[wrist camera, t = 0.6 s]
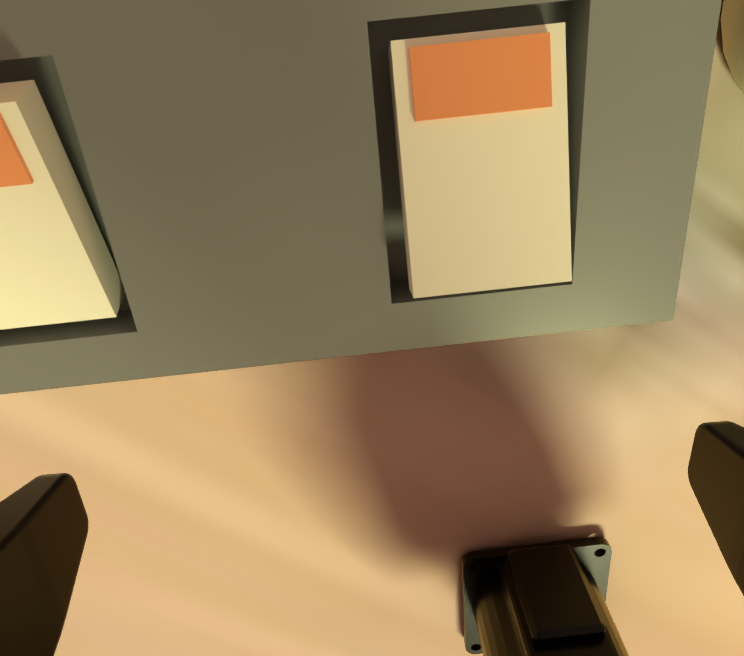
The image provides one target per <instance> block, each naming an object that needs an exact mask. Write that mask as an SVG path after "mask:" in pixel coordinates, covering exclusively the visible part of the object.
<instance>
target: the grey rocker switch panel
mask: <svg viewBox="0 0 744 656" xmlns="http://www.w3.org/2000/svg"><path fill="white" fill-rule="evenodd" d="M721 3H722V0H0V83H8V82H17V81H27V80H34V81H35V83H36V86H37V88H38V90H39V93H40V95H41V97H42V99H43V102H44V104H45V106H46V109H47V111H48V113H49V115H50V118H51V120H52V122H53V125H54V127H55V129H56V131H57V134H58V136H59V138H60V141H61V143H62V145H63V147H64V150H65V152H66V154H67V157H68V159H69V161H70V163H71V166H72V168H73V170H74V173H75V175H76V177H77V179H78V182H79V184H80V186H81V189H82V191H83V193H84V195H85V198H86V200H87V202H88V205H89V207H90V209H91V211H92V214H93V216H94V218H95V221H96V223H97V225H98V227H99V230H100V232H101V234H102V237H103V239H104V241H105V243H106V246H107V248H108V250H109V253H110V255H111V257H112V259H113V262H114V264H115V266H116V269H117V271H118V273H119V275H120V278H121V280H122V283H123V286H124V289H125V293H124V296H123V299H122V302H121V305H120V308H119V311H118V314H117V317H112V318H103V319H94V320H85V321H76V322H66V323H57V324H48V325H39V326H30V327H21V328H11V329H2V330H0V394H8V393H17V392H26V391H35V390H45V389H54V388H63V387H72V386H81V385H90V384H99V383H108V382H117V381H126V380H135V379H145V378H154V377H163V376H172V375H181V374H190V373H199V372H208V371H217V370H226V369H236V368H245V367H254V366H263V365H272V364H281V363H290V362H299V361H308V360H317V359H327V358H336V357H345V356H354V355H363V354H372V353H381V352H390V351H399V350H408V349H418V348H427V347H436V346H445V345H454V344H463V343H472V342H481V341H490V340H499V339H509V338H518V337H527V336H536V335H545V334H554V333H563V332H572V331H581V330H590V329H600V328H609V327H618V326H627V325H636V324H645V323H654V322H663V321H672V320H673V317H674V311H675V304H676V298H677V291H678V284H679V278H680V271H681V265H682V258H683V252H684V245H685V239H686V232H687V225H688V219H689V212H690V206H691V199H692V193H693V186H694V180H695V173H696V166H697V160H698V153H699V147H700V140H701V134H702V127H703V121H704V114H705V107H706V101H707V94H708V88H709V81H710V75H711V68H712V62H713V55H714V48H715V42H716V35H717V29H718V22H719V16H720V9H721ZM562 22H565V33H566V71H567V110H568V149H569V187H570V226H571V265H572V281H568V282H559V283H550V284H541V285H532V286H522V287H513V288H504V289H495V290H486V291H477V292H468V293H458V294H449V295H440V296H431V297H422V298H413V296H412V294H411V292H410V290H409V281H408V270H407V259H406V248H405V237H404V226H403V215H402V204H401V193H400V182H399V171H398V160H397V149H396V138H395V127H394V116H393V105H392V94H391V83H390V72H389V61H388V47H389V44H390V41H393V40H403V39H412V38H421V37H431V36H440V35H450V34H459V33H468V32H478V31H487V30H497V29H506V28H515V27H525V26H534V25H544V24H553V23H562Z"/></svg>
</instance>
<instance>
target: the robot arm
mask: <svg viewBox="0 0 744 656" xmlns="http://www.w3.org/2000/svg"><path fill="white" fill-rule="evenodd" d="M688 477H689V481H690V485H691V487H692V489H693V491H694V494H695V496H696V498H697V500H698V502H699V504H700V507H701V509H702V511H703V513H704V515H705V518H706V520H707V522H708V524H709V526H710V528H711V531H712V533H713V535H714V537H715V539H716V541H717V544H718V546H719V548H720V550H721V552H722V555H723V557H724V559H725V561H726V563H727V565H728V567H729V569H730V571H731V573H732V575H733V577H734V579H735V581H736V583H737V585H738V586H739V588H740V590H741V592H742V593H743V595H744V427H742V426H740V425H738V424H735V423H733V422H729V421H721V422H708V423H703V424H701V425H699V427H698V428H697V430H696V433H695V437H694V442H693V447H692V451H691V456H690V461H689V465H688ZM87 533H88V517H87V513H86V510H85V507H84V505H83V502H82V499H81V496H80V493H79V490H78V488H77V485H76V482H75V480H74V478H73V477H72V476H71V475H70V474H67V473H60V474H47V475H41V476H38V477H36V478H35V479H33V480H32V481H30V482H29V483H28V484H26V485H25V486H23V487H22V488H20V489H19V490H17V491H16V492H14V493H13V494H12V495H10V496H9V497H7V498H6V499H4V500H3V501H1V502H0V656H54V653H55V650H56V648H57V645H58V642H59V639H60V636H61V633H62V629H63V626H64V622H65V619H66V615H67V611H68V607H69V604H70V600H71V596H72V592H73V588H74V584H75V580H76V576H77V573H78V569H79V565H80V561H81V557H82V553H83V549H84V545H85V541H86V538H87ZM611 552H612V551H611V547H610V545H609V543H608V541H607V540H606V539H604V538H601V537H596V538H588V539H579V540H570V541H561V542H552V543H543V544H534V545H525V546H516V547H507V548H498V549H490V550H481V551H472V552H468V553H466V554H465V555H464V556H463V557H462V560H461V566H462V593H463V621H464V642H465V647H466V650H467V652H469V653H471V654H480V653H483V656H629V654H628V652H627V650H626V648H625V646H624V643H623V641H622V639H621V637H620V634H619V632H618V630H617V628H616V626H615V623H614V621H613V619H612V617H611V614H610V612H609V610H608V608H607V606H606V603H605V600H606V592H607V584H608V576H609V568H610V560H611ZM471 563H473V564H471Z"/></svg>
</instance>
